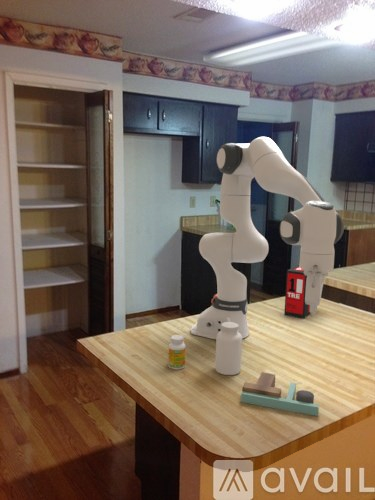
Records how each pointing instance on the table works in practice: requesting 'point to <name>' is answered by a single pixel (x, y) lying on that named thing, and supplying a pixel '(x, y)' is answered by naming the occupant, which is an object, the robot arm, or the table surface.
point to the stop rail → (281, 402)
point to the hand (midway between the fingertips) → (313, 312)
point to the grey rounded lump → (305, 396)
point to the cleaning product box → (296, 293)
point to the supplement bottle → (176, 352)
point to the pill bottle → (228, 349)
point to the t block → (263, 386)
